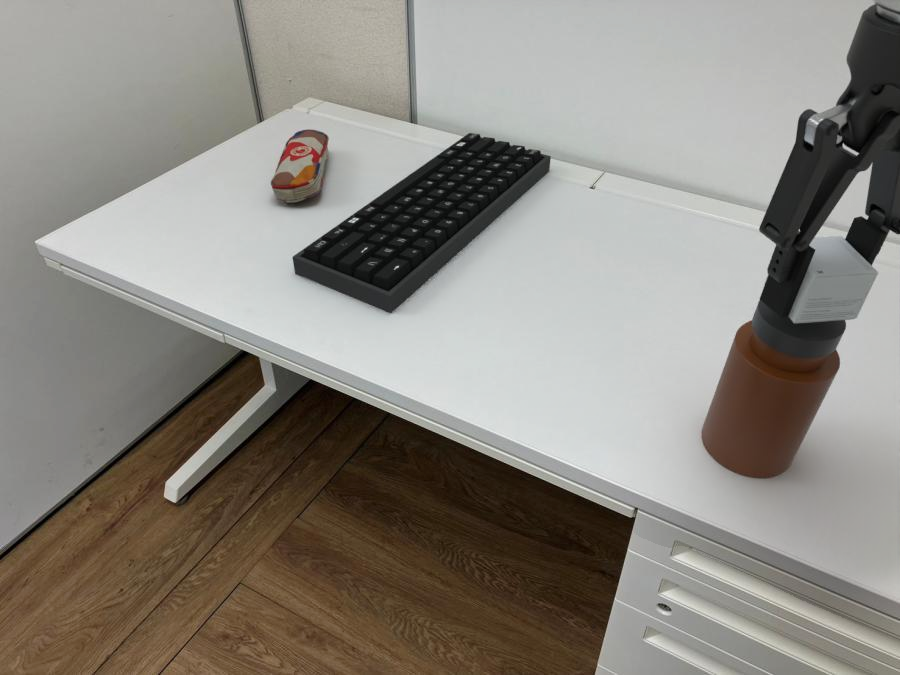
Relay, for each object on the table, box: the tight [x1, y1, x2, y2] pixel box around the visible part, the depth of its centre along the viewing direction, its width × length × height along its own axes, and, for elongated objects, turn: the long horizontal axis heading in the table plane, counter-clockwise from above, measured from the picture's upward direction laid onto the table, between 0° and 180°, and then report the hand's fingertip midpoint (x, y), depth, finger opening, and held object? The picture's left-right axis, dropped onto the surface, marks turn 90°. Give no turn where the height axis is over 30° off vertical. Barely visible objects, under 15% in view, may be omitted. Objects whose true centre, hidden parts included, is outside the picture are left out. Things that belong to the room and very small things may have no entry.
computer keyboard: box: [291, 132, 552, 314], centre depth 104 cm, size 45×16×4 cm, turn 148°
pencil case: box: [270, 128, 330, 204], centre depth 113 cm, size 11×20×5 cm, turn 167°
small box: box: [763, 235, 879, 323], centre depth 58 cm, size 6×6×5 cm
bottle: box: [701, 299, 847, 479], centre depth 67 cm, size 9×9×17 cm
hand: (808, 298), depth 60 cm, fingers closed on small box, 6 cm apart
